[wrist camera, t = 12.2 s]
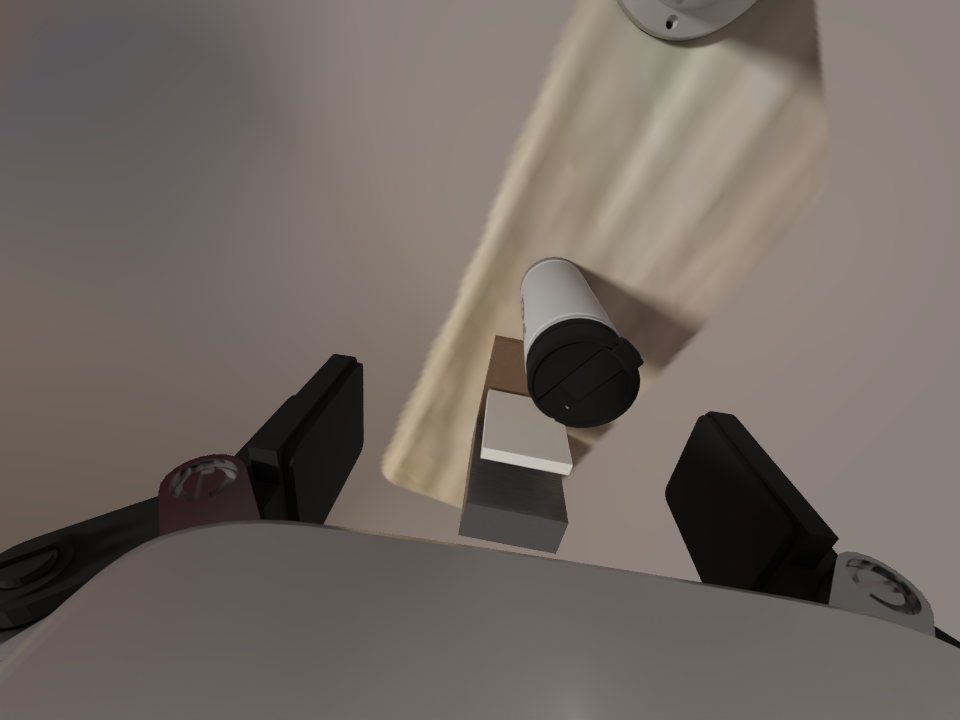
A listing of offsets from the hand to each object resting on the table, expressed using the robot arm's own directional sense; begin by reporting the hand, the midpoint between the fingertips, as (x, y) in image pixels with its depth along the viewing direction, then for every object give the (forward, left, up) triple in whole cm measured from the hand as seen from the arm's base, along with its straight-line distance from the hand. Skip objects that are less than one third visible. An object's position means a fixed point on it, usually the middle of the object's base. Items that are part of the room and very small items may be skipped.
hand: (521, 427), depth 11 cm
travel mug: (+4, +5, -30) cm, 31 cm away
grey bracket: (+17, +5, -30) cm, 35 cm away
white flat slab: (+16, +5, -28) cm, 33 cm away
